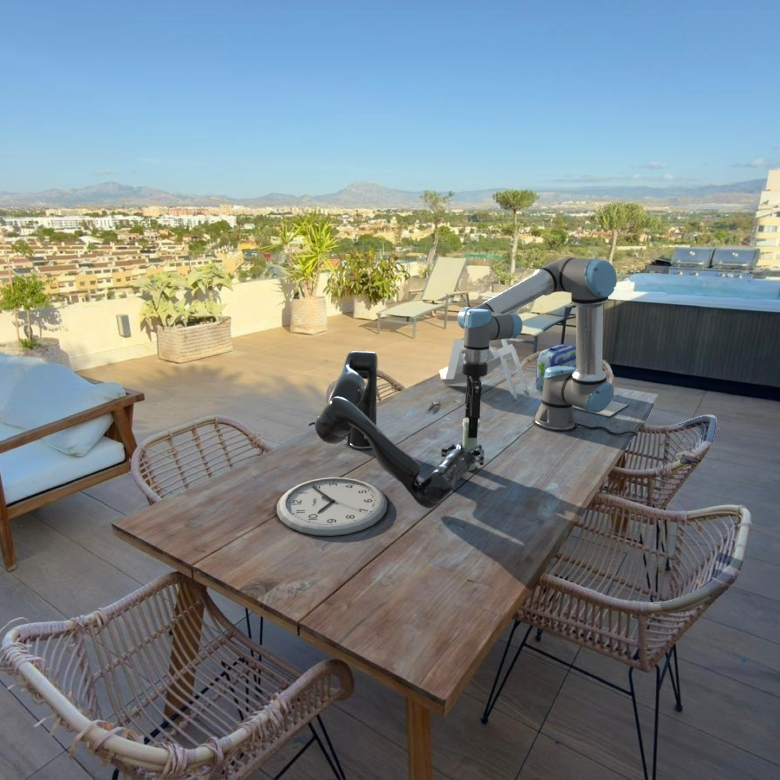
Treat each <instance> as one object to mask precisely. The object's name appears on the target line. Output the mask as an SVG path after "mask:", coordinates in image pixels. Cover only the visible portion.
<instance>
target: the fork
mask: <svg viewBox="0 0 780 780" xmlns="http://www.w3.org/2000/svg"><path fill="white" fill-rule="evenodd" d="M441 398H442V396H441V397H440V396H436V397H435V398H434V400H433V404H432V405H431V406H430V407H429V408H428V410H427V411H428V412H430V411H431V410H432V409H433V408H434V407H435V406H436V405H439V404H440V402H441Z"/></svg>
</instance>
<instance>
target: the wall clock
mask: <svg viewBox="0 0 780 780" xmlns="http://www.w3.org/2000/svg"><path fill="white" fill-rule="evenodd" d="M387 509H388V500H387V498H386V496H385V494H384V493H383V492H382V491H381V490H380V489H379V488H377V487H376V486H374V485H372V484H371V483H369V482H365V481H362V480H359V479H355V478H349V477H338V476H337V477H335V476H333V477H332V476H331V477H322V478H317V479H312V480H307V481H305V482H302V483H299V484H297V485H295V486H293V487H292V488H290V489H288V490H287V491H286V492H285V493H284V494H283V495H281V496H280V498H279V499H278V502H277V503H276V515H277V517H278V518H279V520H280V521H281V522H282V523H283V524H285V525H286V526H287V527H288V528H290V529H293V530H295V531H297V532H299V533H303V534H308V535H312V536H327V537H328V536H329V537H331V536H332V537H333V536H342V535H350V534H352V533H356V532H361V531H363V530H366V529H368V528H369V527H372V526H373V525H375V524H376V523H378V522H379V521H380V520H381V519H382V518H383V517H384V516H385V514H386V512H387Z"/></svg>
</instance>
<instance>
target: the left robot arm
mask: <svg viewBox="0 0 780 780" xmlns="http://www.w3.org/2000/svg"><path fill="white" fill-rule="evenodd" d="M378 369H379V358H378V354H377V353H376V352H375V351H360V350H359V351H357V350H353V351H350V352H348V353H347V355H346V356H345V359H344V363H343V365H342V369H341V371H340V374H339V376H338V377H337V379H336V381H335V383H334V385H333V387H332V390H331V392H330V394H329V397H328V400H327V402H326V405H325V406H324V408H323V409H322V410H321V411H320V413H319V414H318V416H317V417H316V418H315V420H314V421H312V422H310V423H309V424H308V426H309V427H311V426H312V425H314V428H315V429H314V430H315V432H316V434H317V435H318V436H317V437H318V438H320V439H321V440H322V441H323V442H324V443H327V444H331V445H335V444H340V443H341V442H343V441H344V440H345V439H346V440H347V446H350V447H351V448H353V449H355V450H370V449H371V450H372V452H373V454H374V457H375V459H376V461H377V464H378V465H379V466H380V467H381V468H382V469H383V470H384V471H385V472H386V473H388V474H389V475H390V476H392V477H393V478H394V479H395V480H396V481H398V482H399V483H401V484H402V485H403V487H404V488H405V489H406V491H407V492H408V493H409V494H410V495H411V497H412V498H413V499H414V501H415V502H416V503H417V504H418V505H419V506H421V507H422V508H425V509H434V508H435V507H436V506H437V505H439V504H440V503H441V502H442V501H443V500H444V499H445V498H446V497H447V496H448V495H449V494H450V493H452V491H453V489H454V488H455V485H456V484H457V482H458V481H460V480H461V479H462V478H463V477H464V475H465V474H466V473H467V472H468V469H469V468H470V466H471V464H474V463H475V462H476V463H477V464H479V465H480V466H484V465H485V463H484V461H485V449H483V446H482V443H481V444H480V443H477V447H476V448H475V449H470V450H468V451H467V450H466V451H465V450H462V444H463V441H460V442H459V443H457V444H454V443H451V444H448V445H446V446H444V447H441V457H442V459H441V460H440V462H439V463H438V465H437V466H436V467H435V468H434V469H433V470H432V472H431V473H430V474H429V475H427V477H426V478H424V480H422V481H421V480H420V479H419V475H420V473H421V471H422V465H421V464H420V462H418V461H417V460H416V459H415V458H413V457H412V456H411V455H409V454H408V453H407V452H405V451H404V450H403V449H401V448H400V447H399V446H397V444H395V443H394V442H393V441H392V440H391V439H390V438H389V437H388V436H386V434H385V433H384V432H383V431H382V430H381V429H380V428H379V427H378V426H377V415H378V414H377V405H378V403H377V402H378V401H377V399H378V396H377V395H378V392H377V390H378V389H377V388H378V387H377V386H378ZM365 380H366V382H365Z"/></svg>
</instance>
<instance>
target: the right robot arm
mask: <svg viewBox="0 0 780 780" xmlns="http://www.w3.org/2000/svg"><path fill="white" fill-rule="evenodd" d="M617 282H618V276H617V271H616V268H615V267H614V265H613V264H611V262H609V261H607V260H604V259H600V258H580V257H564V258H561V259H557V260H555V261H552V262H550V263H548V264H545V265H544V266H542V267H540V268H537V269H536V270H535V271H534V272H533V273H532V275H531V276H529V277H528V278H526V279H524V280H522V281H520V282H518V283H517V284H515V285H513V286H512V287H510V288H507V289H506V290H504V291H502V292H499V294H497V295H495V296H493V297H491V298H489V299H487V300H486V301H484V302H482V303H480V304H479V305H476V306H474V307H473V306H464V307H463V308H461V309H460V310H459V312H458V314H457V324H458V326H459V327H460V328H461V329H462V330H463V331H464V333H463V340H464V350H462V351H461V353H463V360H464V362H463V365H462V373H463V374H464V375H466V376H467V383H466V386H465V387H466V389H465V400H464V404H465V413H464V414H465V415H464V418H469V425H468V438H477V439H478V436H477V430H478V431H479V428H478V419H479V420H480V418H481V400H482V389H483V388H482V381H480V379H479V378H480V377H481V376H485V375H486V376H487V375H488V374H487V369H488V363H487V361H488V358H489V345H490V343H491V341H496V340H497V341H501V339H506V340H510V339H513V338H517V337H519V336H520V335H521V334H522V331H523V326H524V324H523V323H524V322H523V320H522V318H521V316H520V315H519V314H517V313H514V312H516V311H517V310H519V309H521V308H523V307H525V306H526V305H528V304H530V303H532V302H533V301H535V300H537V299H539V298H541V297H542V296H546V297H547V296H550V295H552V294H555V293H561V292H563V293H569V294H570V296H571V297H570V301H571V303H572V304H573V305H575V337H576V338H575V344H576V345H575V347H576V368H575V367H570V366H555V367H549V368H547V369H546V370H545V375H544V378H543V379H544V380H543V391H541V402H540V405H539V407H538V408H537V411H536V413H535V417H534V424H535V425H536V426H537V427H539V428H542V429H544V430H549V431H556V432H567V431H572V430H574V429H575V428H576V426H580V427H583V428H586V429H590V430H594V429H602V430H605V431H606V432H608V433H609V434H611V435H614V436H623V435H626V434H633V435H634V436H639V435H638V433H637V432H635V431H634V430H627V431H622V432H613V431H612V430H610V429H608V428H607V427H605V426H600V425H599V426H597V425H596V426H590V425H586V424H582V423H579V422H576V418H575V417H576V416H575V413H574V407H579V408H582V409H585V410H586V411H585V412H588V411H591V412H590V413H592V412H595V413H594V414H596V413H597V412H601V411H602V410H604V409H605V408H606V407H607V406H608V405H609V403H610V402H611V401H613V398H614V394H615V387H614V385H612V383H611V382H610V381H608V376H607V372H606V371H605V370H604V369H603V347H604V345H603V342H604V339H603V338H604V304H605V303H607V302H608V301H609V296H611V295H612V294H613V293H614V291H615V288H616V286H617ZM486 376H485V377H486ZM573 406H574V407H573Z"/></svg>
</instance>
